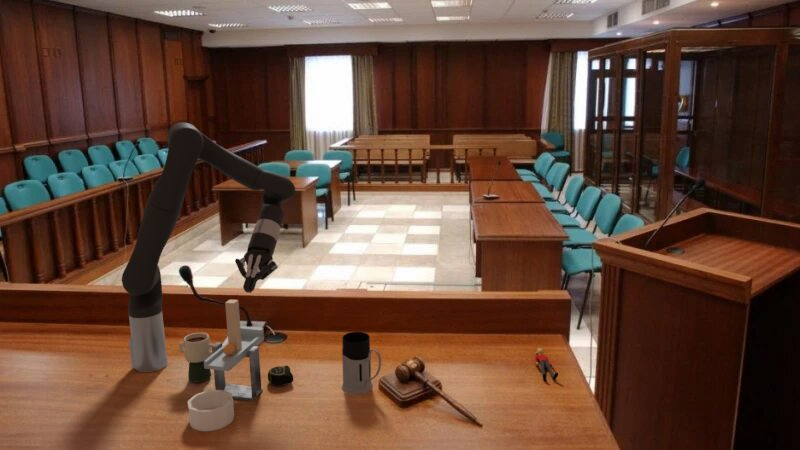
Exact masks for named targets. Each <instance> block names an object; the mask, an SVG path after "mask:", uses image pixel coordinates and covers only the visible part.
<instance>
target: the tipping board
mask: <svg viewBox="0 0 800 450" xmlns="http://www.w3.org/2000/svg"><path fill="white" fill-rule="evenodd" d="M224 304H225V305H224V306H225V317H226V329H227V331H226V332H227V340H228V341H227V342H225V344H222V347H221V348H220V349H218V350H217V351H216V352H215V353H213V354H212V355H210V357H209V358H207V359H206V360H205V361H204V368H205V369H210V370H213V371H214V370H222V371H224V372H230V371H231V370H233V368H234V367H235V366H237V365H238V364H239V363H240V362H241V361H242V360H243V359H245V358H249V350H250V349H251V348H252V347H253V346H258V347H259V345H260V344H261V343H262V342H263V341H265V334H264V333H265V331H264V328H263V327H255V326H254V327H253V326H246V325H245V326H244V325H241V320H240V319H241V318H240V317H241V316H240V305H239V304H240V302H239V299H232V298H231V299H228V300H227V301H226V302H225V303H224ZM227 344H232V345H233V346H234V347H235V352H234V353H233V354H232V355H230V356H228V355H226V354H224V351H223V349H224V347H225V346H226V345H227Z"/></svg>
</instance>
